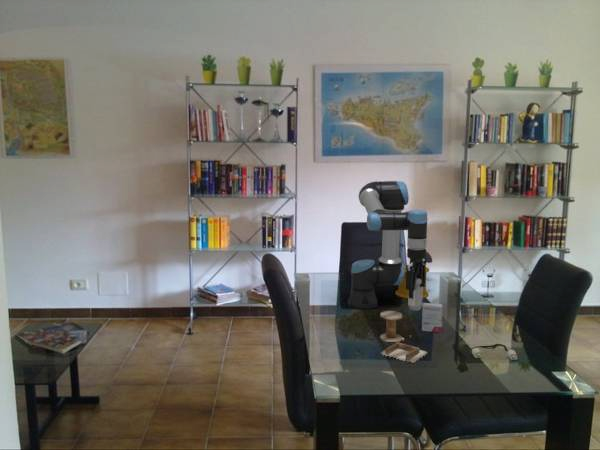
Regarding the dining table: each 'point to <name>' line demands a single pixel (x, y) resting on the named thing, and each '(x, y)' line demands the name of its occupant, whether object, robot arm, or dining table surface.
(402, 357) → the board
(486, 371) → the dining table surface
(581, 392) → the dining table surface
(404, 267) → the robot arm
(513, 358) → the cable
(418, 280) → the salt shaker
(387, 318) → the bobbin
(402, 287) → the spool
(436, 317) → the ink box
